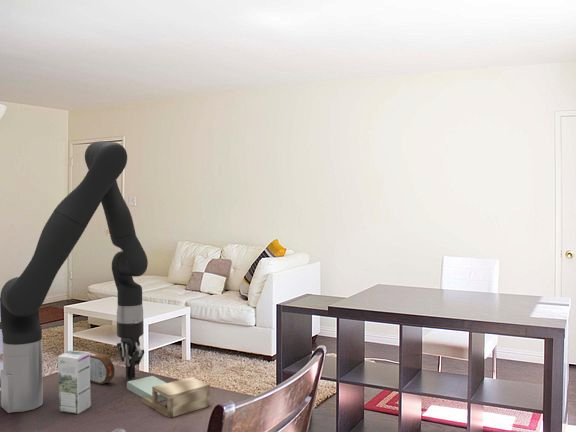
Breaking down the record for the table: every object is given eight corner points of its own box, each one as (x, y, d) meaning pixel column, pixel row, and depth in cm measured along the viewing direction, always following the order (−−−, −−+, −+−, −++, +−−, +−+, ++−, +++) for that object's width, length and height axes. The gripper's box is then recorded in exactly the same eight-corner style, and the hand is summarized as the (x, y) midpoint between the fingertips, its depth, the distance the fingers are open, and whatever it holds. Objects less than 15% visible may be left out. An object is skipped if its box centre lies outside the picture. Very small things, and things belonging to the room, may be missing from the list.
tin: (115, 384, 167) (115, 355, 167) (106, 387, 164) (106, 358, 164) (81, 375, 175) (81, 347, 175) (72, 378, 172) (72, 350, 172)
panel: (152, 405, 152) (152, 395, 152) (126, 390, 163) (126, 381, 163) (179, 398, 157) (179, 389, 157) (152, 384, 169) (152, 375, 169)
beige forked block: (169, 417, 142) (169, 395, 142) (142, 403, 152) (142, 382, 152) (209, 405, 151) (209, 384, 150) (181, 392, 160) (181, 372, 160)
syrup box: (91, 406, 150) (91, 351, 149) (77, 414, 144) (76, 357, 144) (72, 404, 151) (72, 349, 151) (57, 412, 146) (57, 355, 145)
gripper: (107, 317, 171) (108, 375, 172) (129, 325, 162) (129, 386, 162) (131, 314, 176) (131, 370, 177) (153, 321, 167) (153, 380, 168)
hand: (130, 377), depth 170 cm, fingers closed
